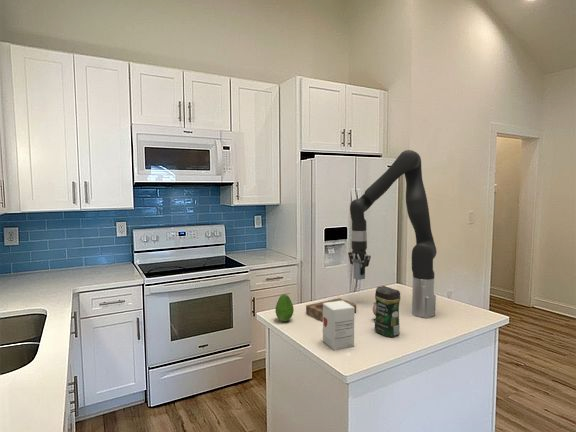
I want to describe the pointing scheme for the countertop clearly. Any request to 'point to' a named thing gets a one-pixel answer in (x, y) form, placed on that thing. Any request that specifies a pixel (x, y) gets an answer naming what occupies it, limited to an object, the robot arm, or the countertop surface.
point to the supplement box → (338, 324)
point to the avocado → (284, 308)
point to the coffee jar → (387, 311)
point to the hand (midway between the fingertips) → (359, 273)
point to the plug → (357, 269)
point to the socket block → (317, 308)
